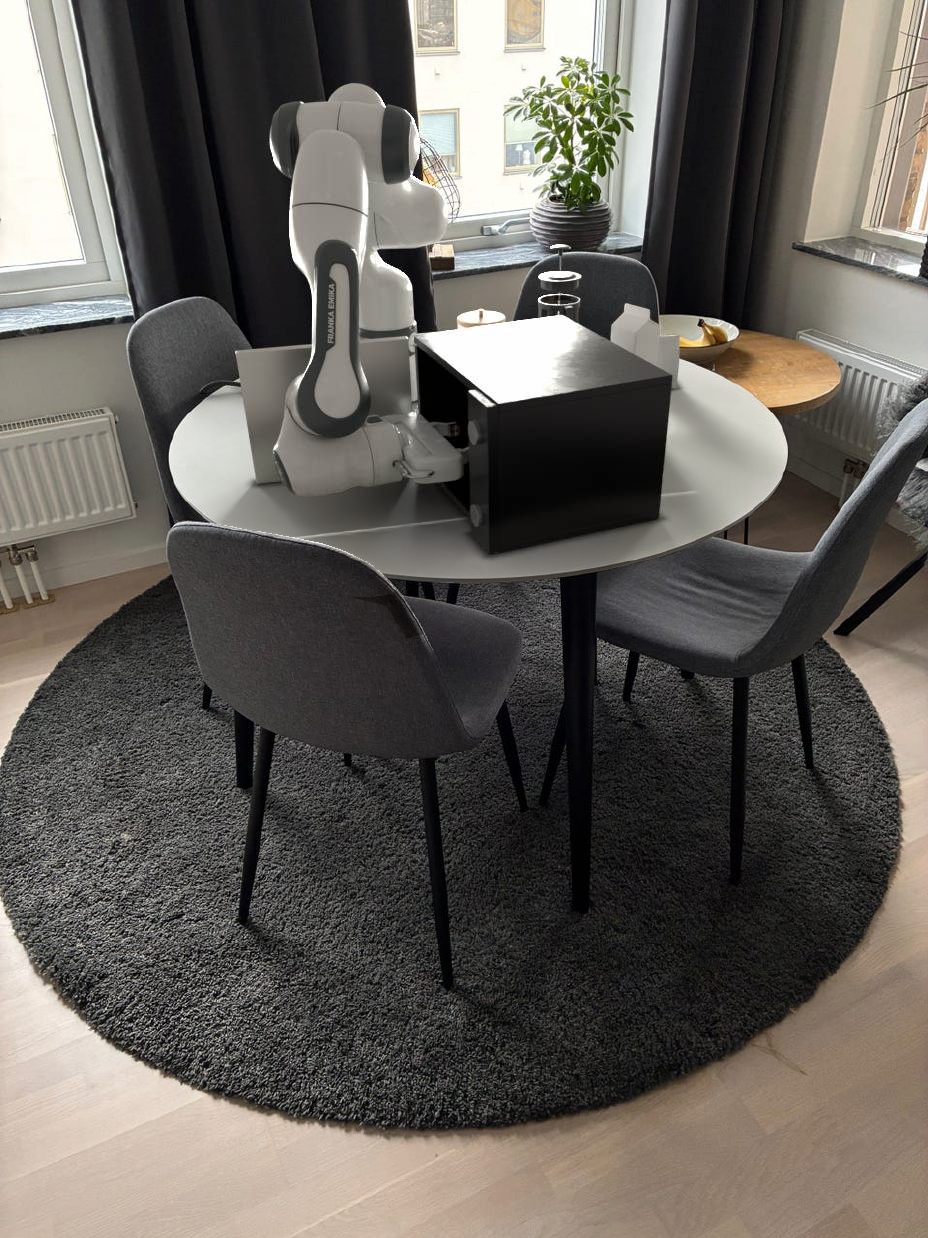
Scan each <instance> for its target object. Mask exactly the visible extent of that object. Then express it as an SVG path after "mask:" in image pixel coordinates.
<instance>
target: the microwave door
mask: <svg viewBox="0 0 928 1238" xmlns="http://www.w3.org/2000/svg"><path fill="white" fill-rule="evenodd" d="M311 354H312V343H309V344H298V345H297V344H296V345H286V346H275V347H273V346H272V347H264V348H263V347H262V348H251V349H242V350H241V349H240V350H235V357H236V365H237V371H238V376H239V382H240V383H241V387H240V389H241V394H242V401H243V408H244V414H245V419H246V420H245V421H246V426H247V430H248V431H247V432H248V439H249V445H250V451H251V456H252V463H253V470H254V476H255V482H256V484H257V485H260V484H269V483H278V482H281V480H280V478H279V475H278V473H277V470H276V468H275V465H274V460H273V455H272V453H273V448H274V446H275V445H276V443H277V441H278V438H279V435H280V432H281V428H282V424H283V419H284V410H285V397H286V392H287V389H288V387H289V385H290V383H291V382H292V381H293V380H294V379H295V378H296V377H297V376H299V375H300V374H302V373H304V372H305V371H306V369H307V367H308V365H309V362H310V359H311ZM359 355H360V362H361V366H362V369H363V372H364V375H365V378H366V380H367V383H368V386H369V390H370V396H371V405H370V411H369V414H368V416H370V415H378V416H379V417H380V418H381V417H383V416H387V415H393V414H402V413H414V411H413V402H412V395H411V378H410V361H409V345H408V338H407V336H402V337H390V338H378V339H367V340H359ZM361 427H365V422H364V423H363V425H362V426H361Z"/></svg>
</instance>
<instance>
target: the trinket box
mask: <svg viewBox="0 0 928 1238" xmlns="http://www.w3.org/2000/svg"><path fill="white" fill-rule="evenodd" d="M501 323H506V316H505V314H503V313H501V312H497V311H492V310H484V309H483V308H479V309H478V310H473V311H468V312H464V313H461V314H460V315H458V316H457V318H456V324H457V330H458V329H465V328H472V327H479V326H486V325H493V324H501Z"/></svg>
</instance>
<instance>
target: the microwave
mask: <svg viewBox="0 0 928 1238" xmlns="http://www.w3.org/2000/svg"><path fill="white" fill-rule="evenodd" d="M414 347H415V365H416V382H417V400H416V401H417V414H421V415H422V416H423V417H424V418H425V419H426V420H427V421H428V422H429V423H431V422H439V423H452V422H456V423H457V424H458V425H459V426H460V435H459V436H454V437H449V436H443V437H444V438H445V439H446V440H447V441H448V442H449V443H450V444H451V445H452V446H453V447H454V448H455V449H457V448H461V449H464V448H467V447H469V462H467V463H466V464H464V475H463V476H462V477H461V478H460V479H458V480H454V481H447V482H438V483H437V484H438V485H439V486H440V488H441V489H442V490H443V491H444V492H445V494H447V495H448V497H449V498H450V499H451V500H452V501H453V502H454V503H455V505H456V506H457V507H458V508H459V509H460V510H461V511H462V512H463V514H464V515H466V517H467V518H468V519H469V520H470V534H471V535H472V536H473V538H475V540H476V541H477V542H478V543H479V544H480V545H481V547H483V549H484V550H485V551H486V552H487V553H488V555H493V554H497V553H499V554H503V553H506V552H507V553H508V552H511V551H515V550H521V549H525V548H530V547H535V546H539V545H543V544H548V543H553V542H557V541H562V540H566V539H571V538H577V537H580V536H584V535H585V536H586V535H590V534H594V533H599V532H603V531H609V530H612V529H617V528H622V527H627V526H630V525H635V524H639V523H645V522H650V521H654V520H659V519H660V512H661V502H662V491H663V483H664V482H663V481H664V471H665V470H664V469H665V460H666V452H667V451H666V448H667V441H668V440H667V439H668V431H669V430H668V429H669V419H670V407H671V397H672V389H673V388H672V378H673V375H672V374H670V373H668V372H666V371H664V370H662V369H661V368H659V367H657V366H655V365H653V364H651V363H650V362H648V361H646V360H644V359H642V358H640V357H639V356H637V355H635V354H633V353H631V352H629V351H627V350H626V349H624V348H622V347H620V346H618V345H616V344H615V343H613V342H611V340H609V339H608V338H606V337H604V336H601V335H600V334H598V333H596V332H594V331H592V330H591V329H589V328H587V327H585V326H583V325H581V324H580V323H579V324H578V323H576V322H575V320H574V321H572V320H570V319H569V318H567V317H565V316H563V315H562V314H560V315H558V314H557V315H555V316H551V317H548V316H544V317H542V318H537V317H536V318H531V319H523V320H516V321H507V322H505V323H501V324H493V325H486V326H479V327H472V328H465V329H458V328H457V329H451V330H444V331H437V332H430V333H429V332H428V333H422V334H417V335H414Z"/></svg>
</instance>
